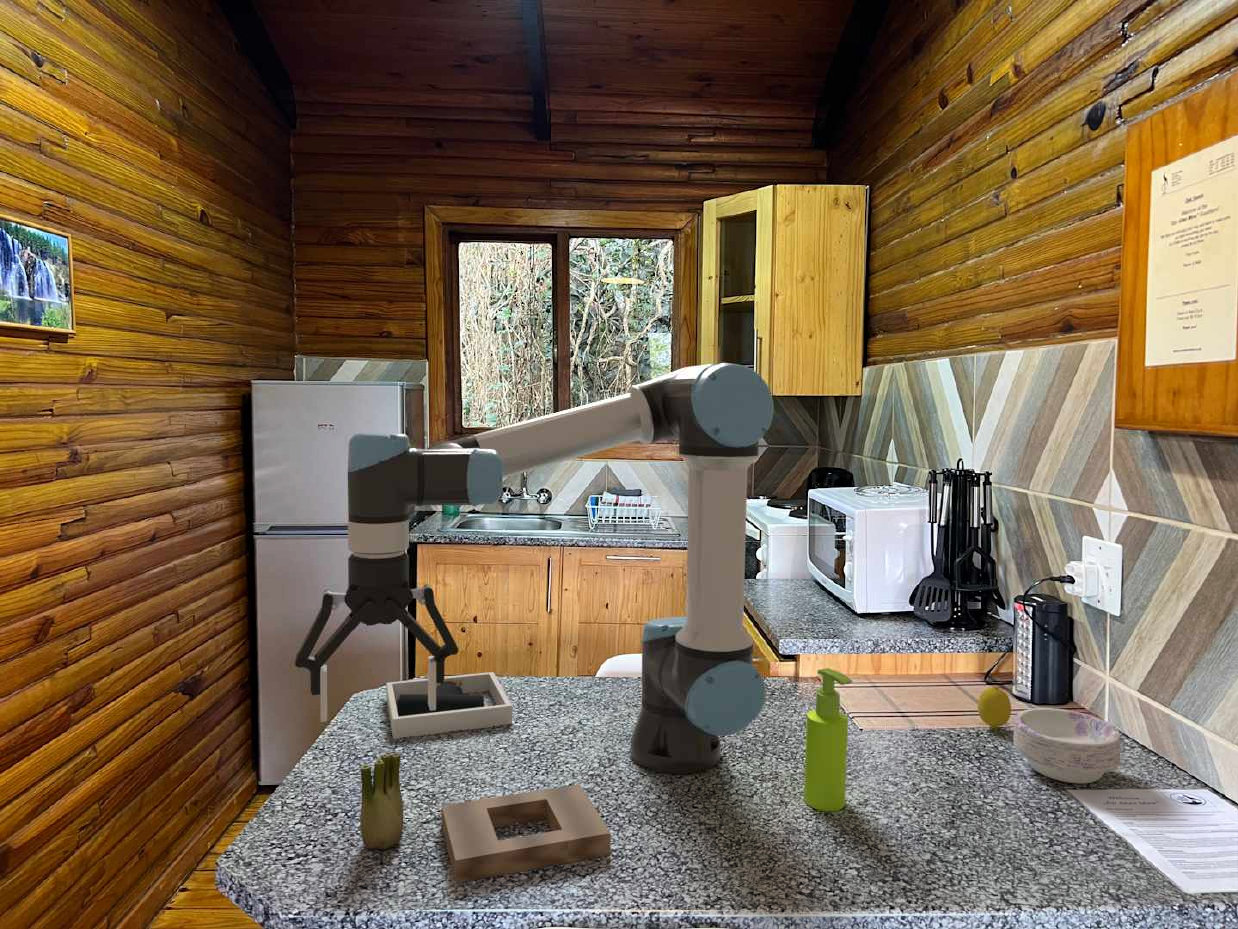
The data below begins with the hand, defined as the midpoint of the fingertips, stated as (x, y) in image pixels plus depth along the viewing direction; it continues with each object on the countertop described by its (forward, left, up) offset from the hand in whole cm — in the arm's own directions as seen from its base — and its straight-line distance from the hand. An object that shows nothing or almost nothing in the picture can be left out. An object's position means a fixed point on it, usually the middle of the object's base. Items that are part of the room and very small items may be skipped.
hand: (379, 712), depth 105 cm
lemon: (-108, -5, -18) cm, 110 cm away
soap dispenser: (-63, +9, -18) cm, 66 cm away
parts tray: (-14, -43, -18) cm, 49 cm away
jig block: (-18, +5, -18) cm, 26 cm away
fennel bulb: (0, 0, -18) cm, 18 cm away
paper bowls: (-106, +12, -18) cm, 108 cm away
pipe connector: (-14, -42, -19) cm, 48 cm away
